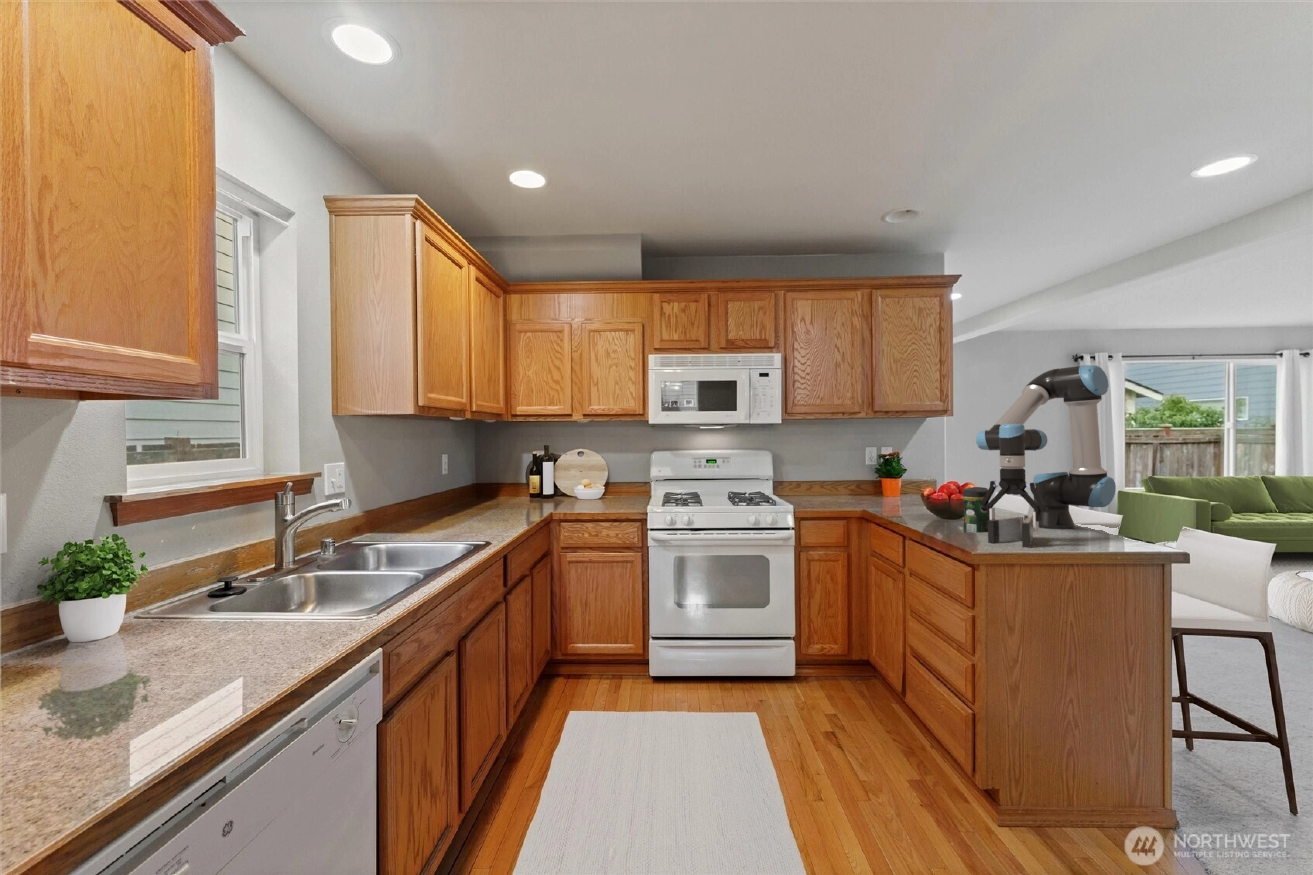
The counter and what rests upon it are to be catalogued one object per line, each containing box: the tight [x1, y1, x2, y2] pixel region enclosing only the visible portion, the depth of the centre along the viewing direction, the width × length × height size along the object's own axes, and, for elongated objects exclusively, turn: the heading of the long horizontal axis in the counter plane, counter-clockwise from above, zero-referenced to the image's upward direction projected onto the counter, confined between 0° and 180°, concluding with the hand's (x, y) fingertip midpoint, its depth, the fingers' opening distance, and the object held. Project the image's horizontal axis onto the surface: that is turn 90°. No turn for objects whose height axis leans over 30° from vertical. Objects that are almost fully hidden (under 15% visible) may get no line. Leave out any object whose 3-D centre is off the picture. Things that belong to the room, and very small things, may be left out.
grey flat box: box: [1021, 514, 1034, 549], centre depth 195 cm, size 18×3×9 cm, turn 141°
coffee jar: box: [962, 486, 990, 534], centre depth 222 cm, size 10×8×19 cm
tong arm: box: [987, 516, 1024, 544], centre depth 200 cm, size 16×2×8 cm, turn 113°
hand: (1013, 528), depth 195 cm, fingers open, 13 cm apart
